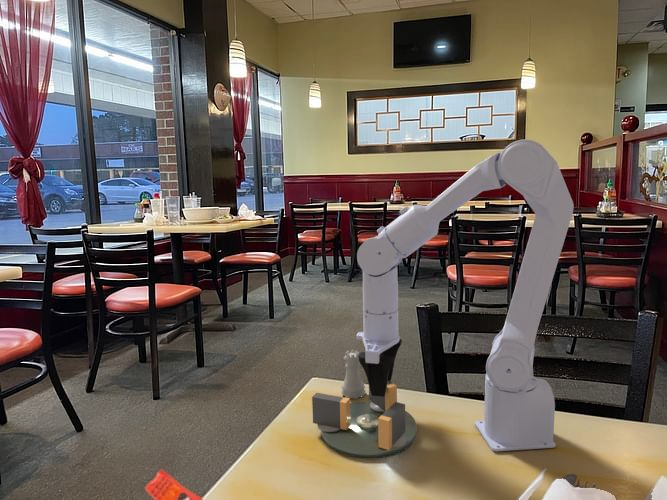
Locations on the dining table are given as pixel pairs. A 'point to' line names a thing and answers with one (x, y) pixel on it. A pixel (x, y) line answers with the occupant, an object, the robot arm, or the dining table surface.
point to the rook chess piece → (352, 376)
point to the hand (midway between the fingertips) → (381, 387)
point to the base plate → (366, 434)
